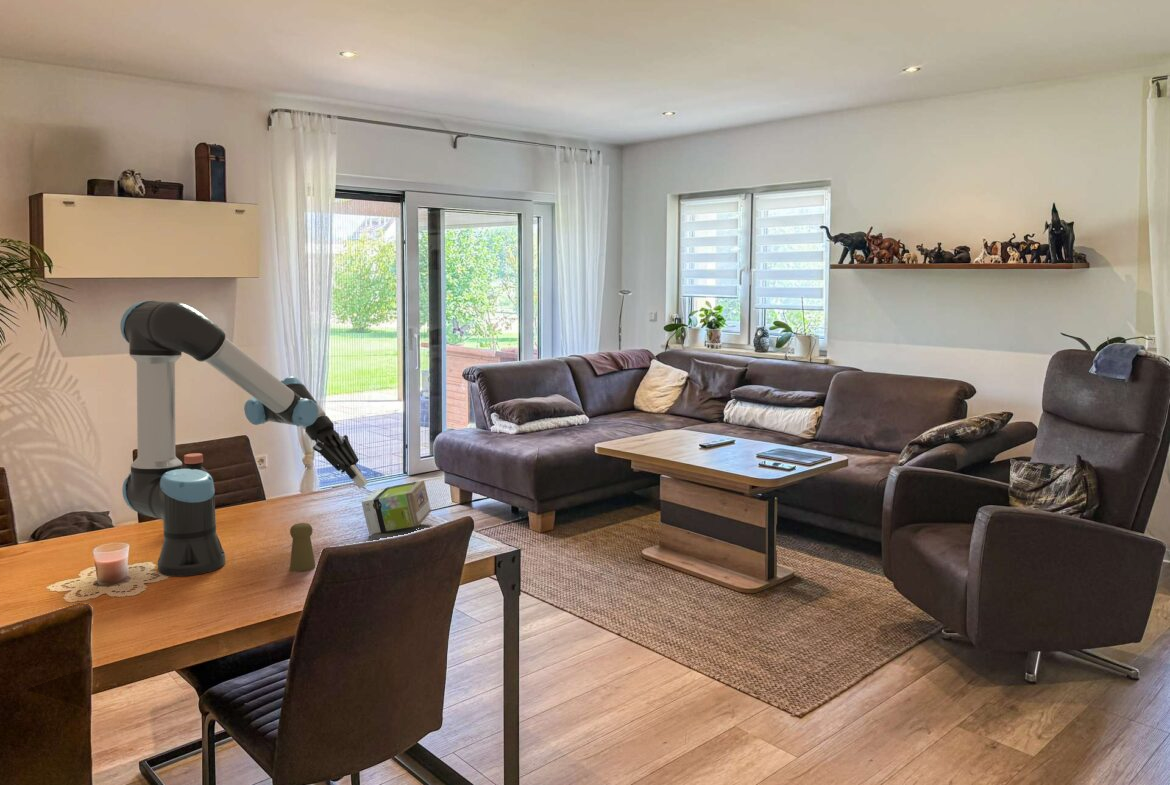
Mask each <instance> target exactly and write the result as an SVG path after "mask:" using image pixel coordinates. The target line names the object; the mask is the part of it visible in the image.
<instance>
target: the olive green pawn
mask: <svg viewBox="0 0 1170 785" xmlns="http://www.w3.org/2000/svg"><path fill="white" fill-rule="evenodd" d="M289 534H290V536H291V538H292V543H291V544H292V545H291V552H290V553H291V554H290V562H289V563H290V564H289V570H290V571H291V572H297V573H298V572H300V573H301V572H308V571H311V570H314V569H315V568H316V567H315V566H316V561H315V555H314V551H313V550H314V549H313V545H312V539H311V536H312V535H313V527H312V525H311V524H310V523H307V522H299V523H295V524H294V525H292V526H290V530H289Z"/></svg>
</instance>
